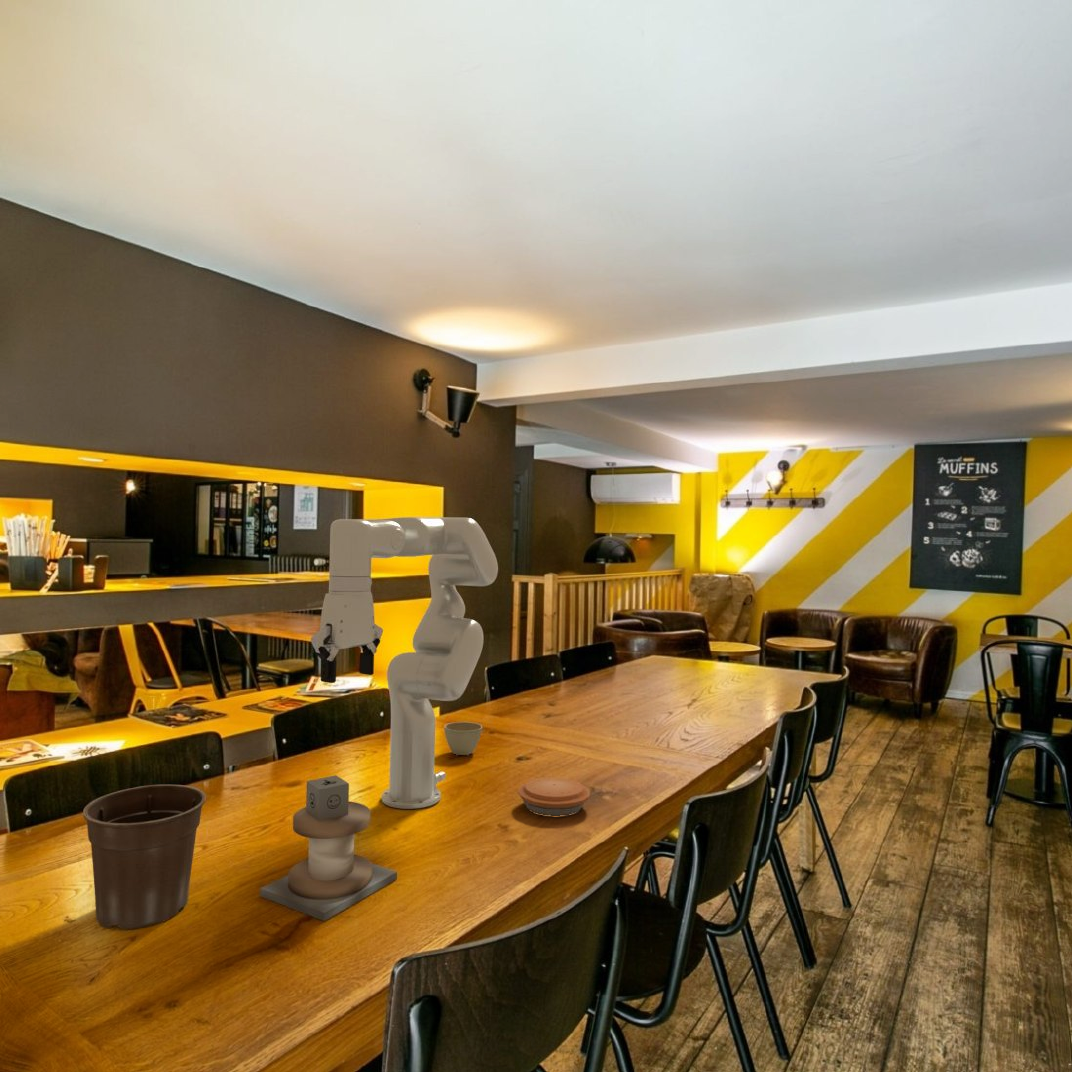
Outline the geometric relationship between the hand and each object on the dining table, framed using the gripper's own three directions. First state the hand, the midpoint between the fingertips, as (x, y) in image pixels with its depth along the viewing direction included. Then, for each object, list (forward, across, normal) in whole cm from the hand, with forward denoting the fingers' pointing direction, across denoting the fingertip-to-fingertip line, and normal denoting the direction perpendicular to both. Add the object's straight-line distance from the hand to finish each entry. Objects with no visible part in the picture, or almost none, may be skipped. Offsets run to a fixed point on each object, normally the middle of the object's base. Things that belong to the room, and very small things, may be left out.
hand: (347, 677), depth 135 cm
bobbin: (+30, +14, +11) cm, 35 cm away
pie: (+31, -37, +24) cm, 54 cm away
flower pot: (+31, -58, -15) cm, 67 cm away
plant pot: (+31, +34, -7) cm, 46 cm away
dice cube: (+19, +14, +10) cm, 26 cm away
